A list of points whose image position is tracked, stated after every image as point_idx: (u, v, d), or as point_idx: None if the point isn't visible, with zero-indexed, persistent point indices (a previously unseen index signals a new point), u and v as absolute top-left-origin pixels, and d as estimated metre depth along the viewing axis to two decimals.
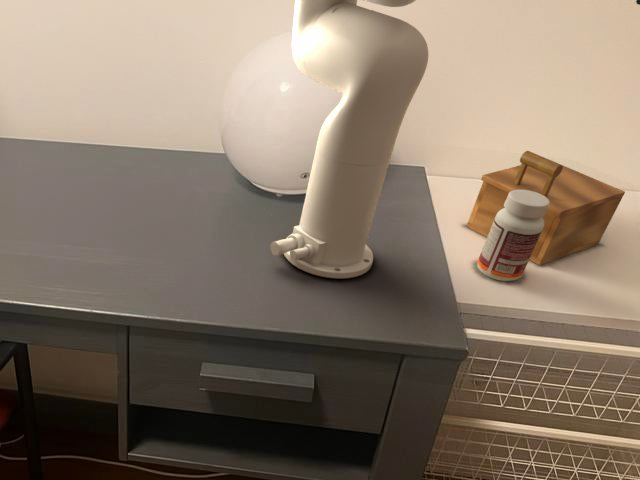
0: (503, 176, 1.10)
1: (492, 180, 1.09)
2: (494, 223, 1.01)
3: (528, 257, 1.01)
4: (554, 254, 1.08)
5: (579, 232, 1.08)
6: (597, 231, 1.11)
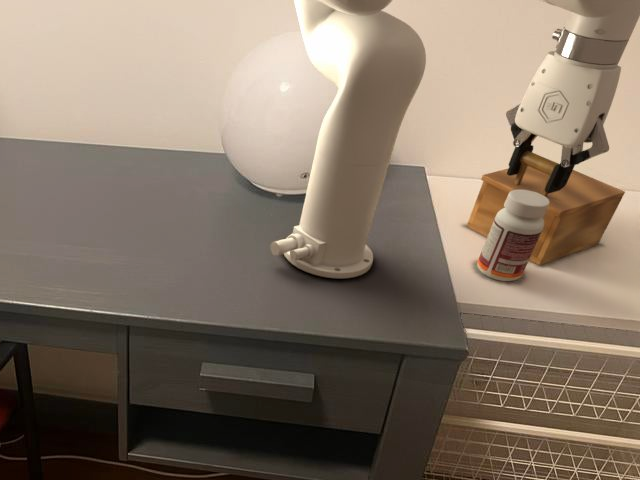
0: (503, 176, 1.10)
1: (492, 180, 1.09)
2: (494, 223, 1.01)
3: (528, 257, 1.01)
4: (554, 254, 1.08)
5: (579, 232, 1.08)
6: (597, 231, 1.11)
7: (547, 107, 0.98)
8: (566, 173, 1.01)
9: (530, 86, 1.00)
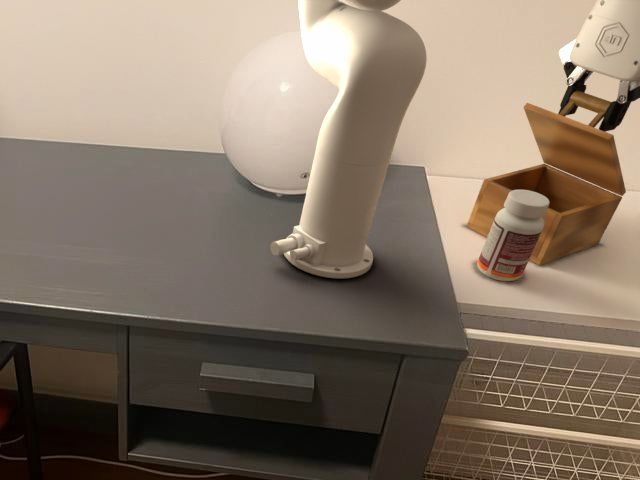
0: None
1: (537, 107, 1.04)
2: (494, 223, 1.01)
3: (528, 257, 1.01)
4: (554, 254, 1.08)
5: (579, 232, 1.08)
6: (597, 231, 1.11)
7: (605, 40, 0.96)
8: (622, 110, 0.99)
9: (587, 20, 0.98)
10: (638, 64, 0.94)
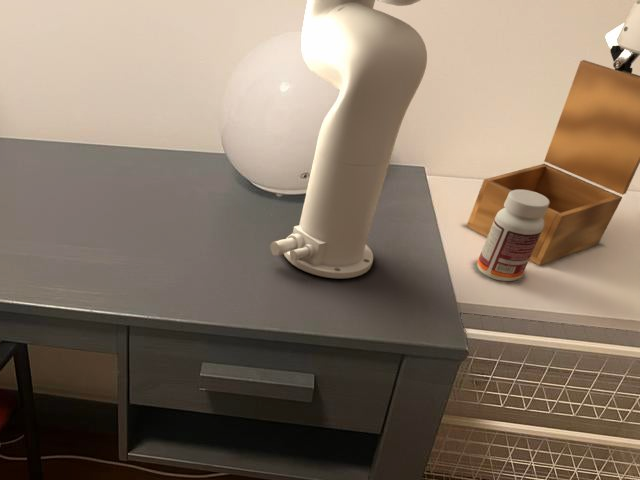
0: None
1: (594, 63, 1.05)
2: (494, 223, 1.01)
3: (528, 257, 1.01)
4: (554, 254, 1.08)
5: (579, 232, 1.08)
6: (597, 231, 1.11)
7: None
8: None
9: (635, 4, 1.01)
10: None
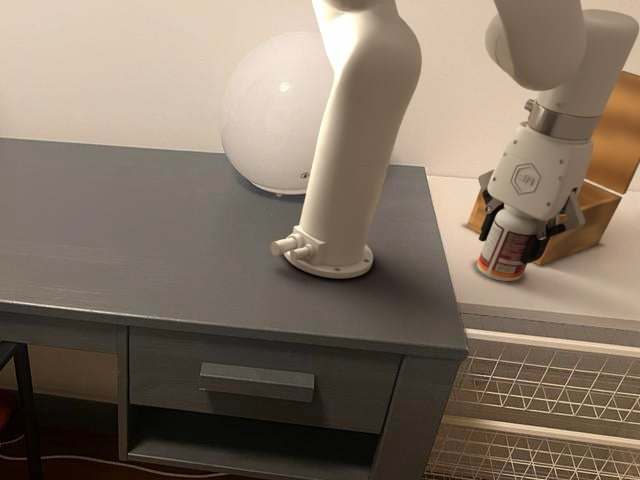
0: None
1: None
2: (494, 223, 1.01)
3: None
4: (554, 254, 1.08)
5: (579, 232, 1.08)
6: (597, 231, 1.11)
7: (519, 179, 0.96)
8: (542, 245, 0.98)
9: (502, 156, 0.97)
10: (551, 206, 0.93)
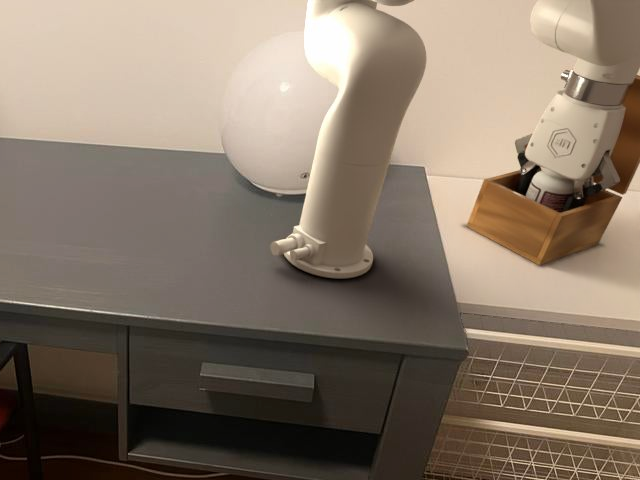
0: None
1: None
2: (531, 185, 1.10)
3: None
4: (554, 254, 1.08)
5: (579, 232, 1.08)
6: (597, 231, 1.11)
7: (556, 143, 1.05)
8: (579, 204, 1.06)
9: (540, 123, 1.06)
10: (585, 167, 1.02)
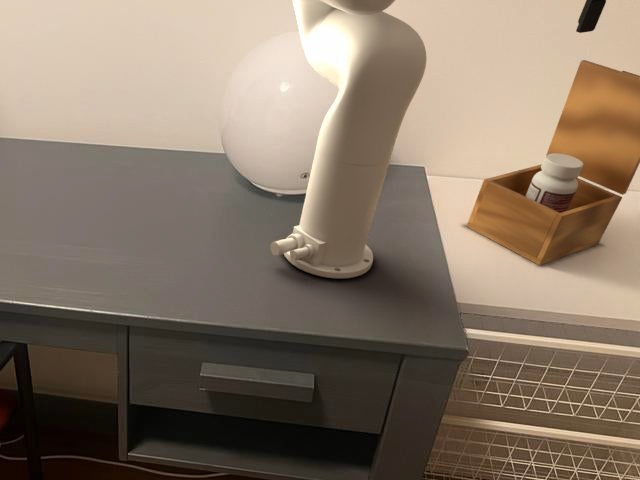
0: None
1: (595, 63, 1.05)
2: (531, 185, 1.10)
3: None
4: (554, 254, 1.08)
5: (579, 232, 1.08)
6: (597, 231, 1.11)
7: None
8: None
9: None
10: None
